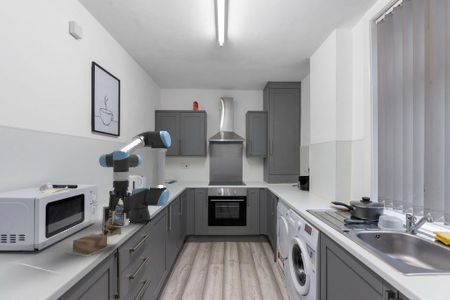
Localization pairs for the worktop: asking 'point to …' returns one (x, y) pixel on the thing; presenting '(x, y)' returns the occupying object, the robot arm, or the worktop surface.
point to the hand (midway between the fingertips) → (120, 224)
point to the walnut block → (89, 243)
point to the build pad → (88, 254)
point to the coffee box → (109, 223)
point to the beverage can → (119, 215)
